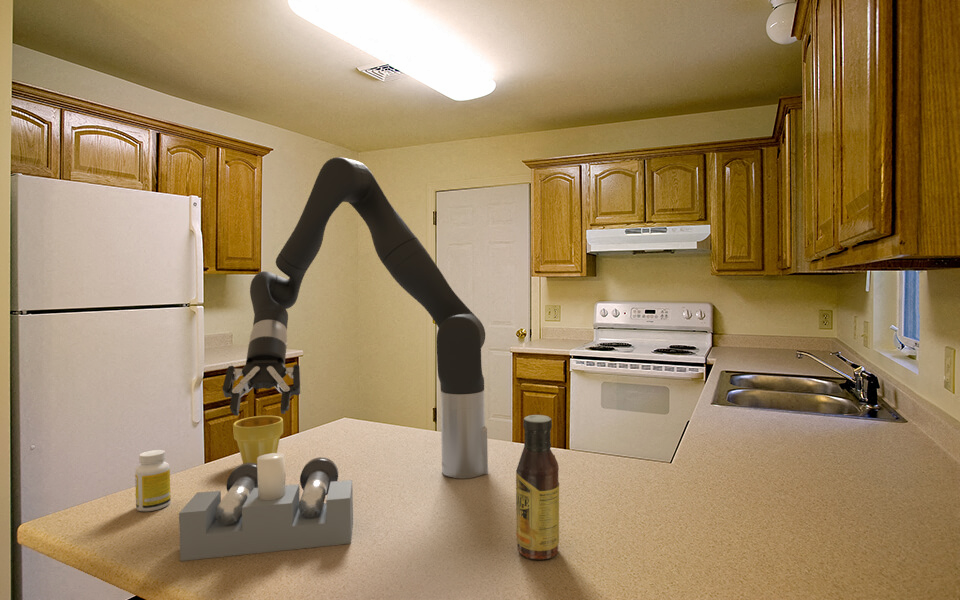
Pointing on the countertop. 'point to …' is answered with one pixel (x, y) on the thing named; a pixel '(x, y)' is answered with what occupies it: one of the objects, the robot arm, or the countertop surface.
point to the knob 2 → (316, 485)
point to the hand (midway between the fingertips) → (259, 412)
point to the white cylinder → (271, 476)
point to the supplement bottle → (152, 481)
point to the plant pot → (257, 436)
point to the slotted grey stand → (265, 524)
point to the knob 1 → (237, 493)
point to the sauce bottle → (537, 492)
